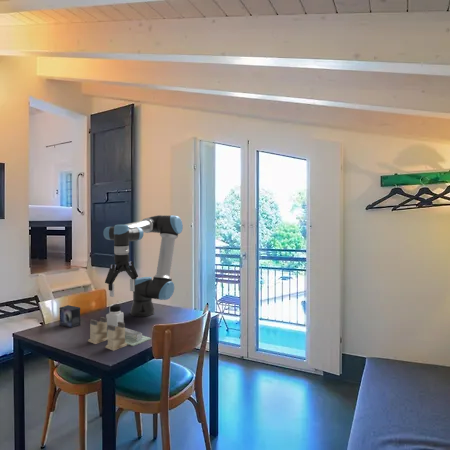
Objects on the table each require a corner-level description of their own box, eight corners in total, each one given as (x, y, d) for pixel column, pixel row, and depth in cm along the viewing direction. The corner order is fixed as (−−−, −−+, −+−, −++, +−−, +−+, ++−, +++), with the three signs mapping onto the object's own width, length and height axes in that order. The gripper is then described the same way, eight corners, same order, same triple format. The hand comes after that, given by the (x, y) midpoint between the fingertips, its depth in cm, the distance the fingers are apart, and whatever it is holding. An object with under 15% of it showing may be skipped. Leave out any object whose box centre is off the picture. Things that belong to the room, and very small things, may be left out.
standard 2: (119, 342, 175) (119, 321, 175) (127, 345, 172) (127, 323, 171) (105, 347, 168) (105, 325, 168) (113, 350, 165) (113, 327, 165)
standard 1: (101, 337, 183) (101, 316, 183) (109, 339, 180) (109, 318, 179) (88, 341, 176) (88, 319, 176) (95, 344, 173) (95, 322, 173)
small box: (58, 325, 201) (58, 307, 201) (68, 322, 207) (68, 304, 207) (71, 328, 196) (71, 309, 196) (80, 325, 202) (80, 307, 202)
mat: (118, 329, 195) (118, 328, 195) (151, 339, 180) (151, 338, 180) (99, 335, 186) (99, 334, 185) (132, 346, 171) (132, 345, 171)
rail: (108, 332, 188) (108, 326, 187) (114, 331, 190) (114, 324, 190) (136, 341, 175) (136, 334, 175) (142, 339, 178) (142, 332, 178)
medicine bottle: (123, 324, 204) (123, 303, 204) (116, 328, 197) (116, 306, 197) (113, 323, 206) (113, 302, 206) (105, 326, 199) (105, 305, 199)
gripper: (106, 257, 173) (107, 299, 174) (144, 251, 194) (144, 289, 195) (97, 256, 177) (97, 297, 178) (134, 250, 198) (135, 288, 199)
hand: (122, 293), depth 187 cm, fingers open, 13 cm apart
